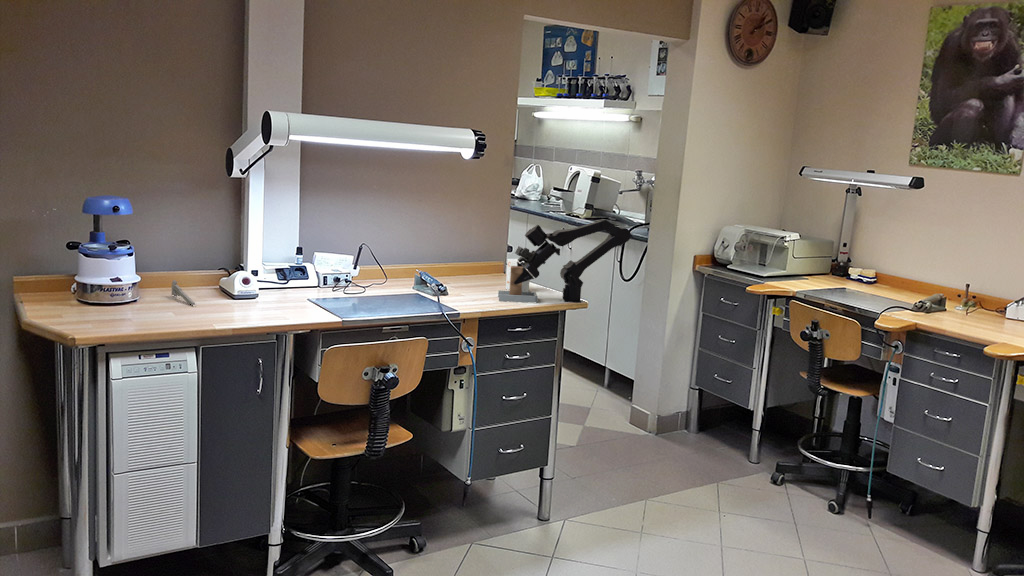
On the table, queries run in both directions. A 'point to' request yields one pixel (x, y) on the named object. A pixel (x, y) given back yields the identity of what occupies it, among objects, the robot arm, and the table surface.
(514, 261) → the small box
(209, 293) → the table surface
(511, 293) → the walnut block
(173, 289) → the caliper
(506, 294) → the channel
